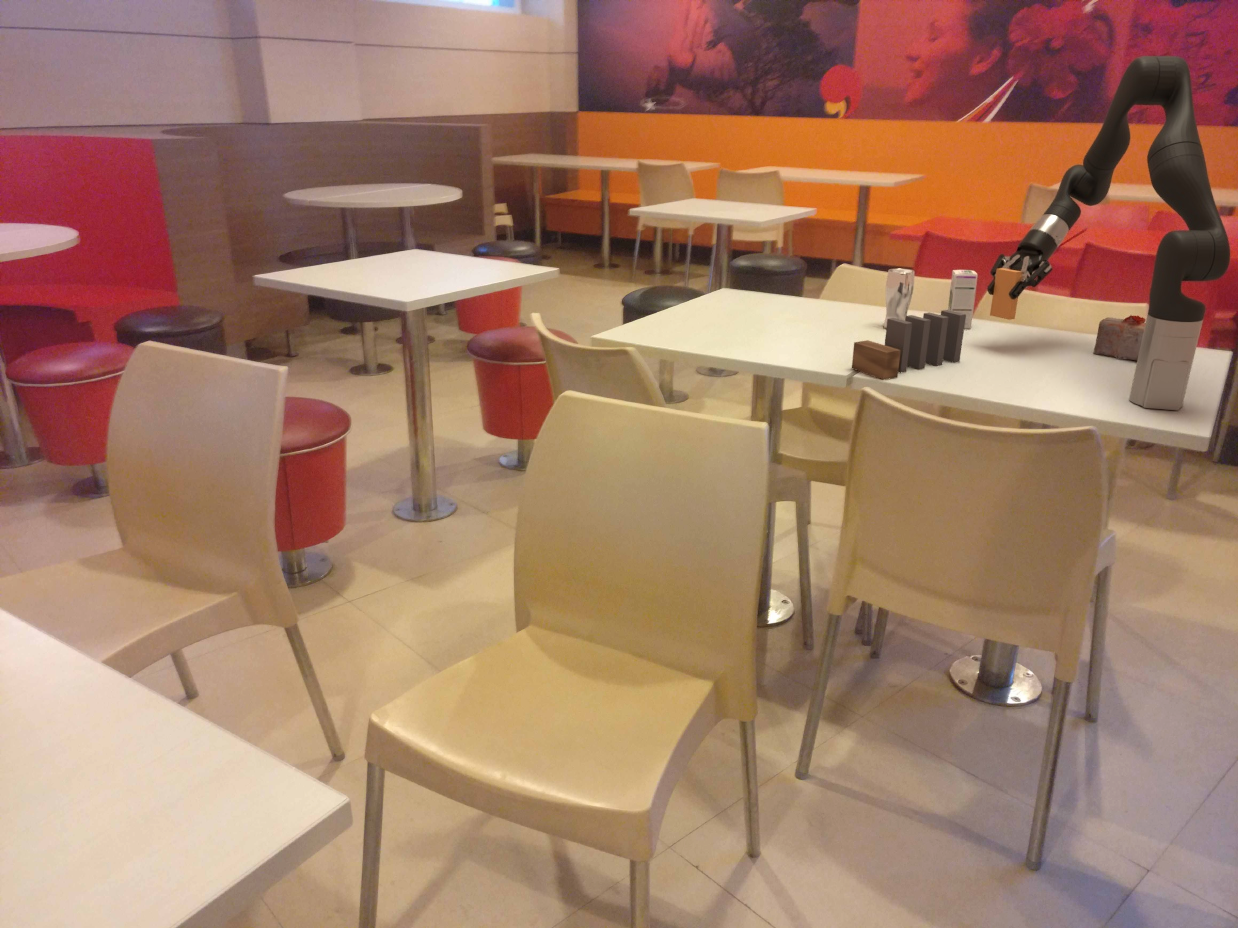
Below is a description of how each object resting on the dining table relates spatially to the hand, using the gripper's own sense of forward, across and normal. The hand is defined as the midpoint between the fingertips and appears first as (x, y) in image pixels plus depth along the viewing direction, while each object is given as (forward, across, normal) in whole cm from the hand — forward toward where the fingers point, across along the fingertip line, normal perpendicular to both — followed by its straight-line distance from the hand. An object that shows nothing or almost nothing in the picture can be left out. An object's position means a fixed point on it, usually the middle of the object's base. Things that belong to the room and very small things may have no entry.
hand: (1000, 294), depth 209 cm
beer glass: (+11, -29, +8) cm, 32 cm away
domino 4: (+20, 0, -1) cm, 20 cm away
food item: (-7, +19, +26) cm, 33 cm away
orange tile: (+3, 0, +5) cm, 6 cm away
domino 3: (+24, 0, -5) cm, 24 cm away
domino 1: (+32, 0, -12) cm, 34 cm away
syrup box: (0, -22, +19) cm, 29 cm away
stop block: (+36, 0, -16) cm, 40 cm away
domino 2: (+28, 0, -8) cm, 29 cm away
